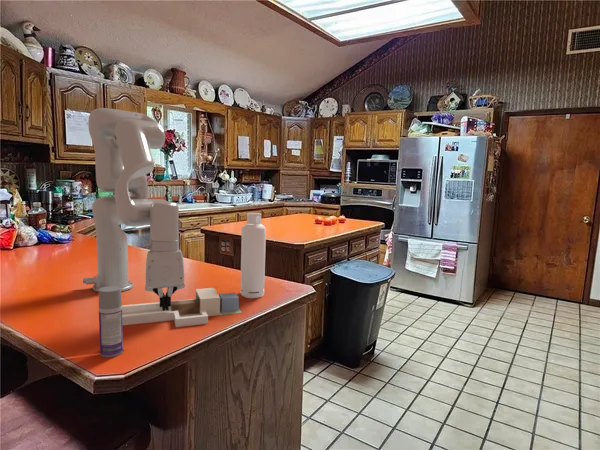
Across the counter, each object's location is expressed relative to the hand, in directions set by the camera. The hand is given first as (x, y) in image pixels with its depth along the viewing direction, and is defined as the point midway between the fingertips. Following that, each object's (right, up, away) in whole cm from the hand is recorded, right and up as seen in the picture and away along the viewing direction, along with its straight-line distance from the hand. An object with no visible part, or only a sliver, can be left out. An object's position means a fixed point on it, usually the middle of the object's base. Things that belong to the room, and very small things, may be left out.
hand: (165, 309), depth 111 cm
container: (-4, -5, -23) cm, 24 cm away
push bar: (+8, -2, +3) cm, 9 cm away
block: (+17, -1, +7) cm, 18 cm away
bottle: (+22, 0, +23) cm, 32 cm away
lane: (+5, -2, 0) cm, 6 cm away
